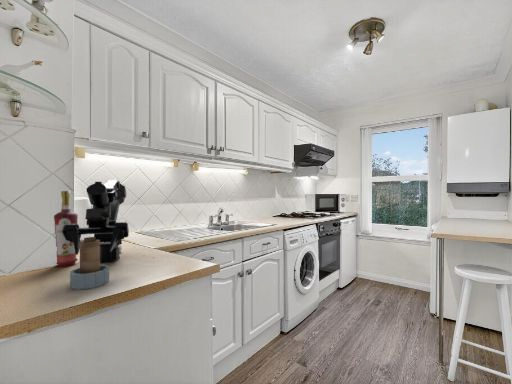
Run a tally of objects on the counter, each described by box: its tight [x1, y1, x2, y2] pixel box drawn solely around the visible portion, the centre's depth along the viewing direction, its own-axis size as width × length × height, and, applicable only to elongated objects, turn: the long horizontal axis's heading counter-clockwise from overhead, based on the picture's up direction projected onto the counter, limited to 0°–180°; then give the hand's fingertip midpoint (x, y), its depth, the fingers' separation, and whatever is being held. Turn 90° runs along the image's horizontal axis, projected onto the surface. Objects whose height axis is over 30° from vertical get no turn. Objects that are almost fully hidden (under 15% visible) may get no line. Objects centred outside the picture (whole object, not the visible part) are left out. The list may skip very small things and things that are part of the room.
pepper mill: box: [79, 236, 101, 274], centre depth 80 cm, size 5×5×13 cm
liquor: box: [53, 190, 79, 267], centre depth 100 cm, size 7×7×28 cm
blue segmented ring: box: [69, 264, 110, 291], centre depth 80 cm, size 10×10×4 cm
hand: (93, 252), depth 84 cm, fingers open, 9 cm apart
